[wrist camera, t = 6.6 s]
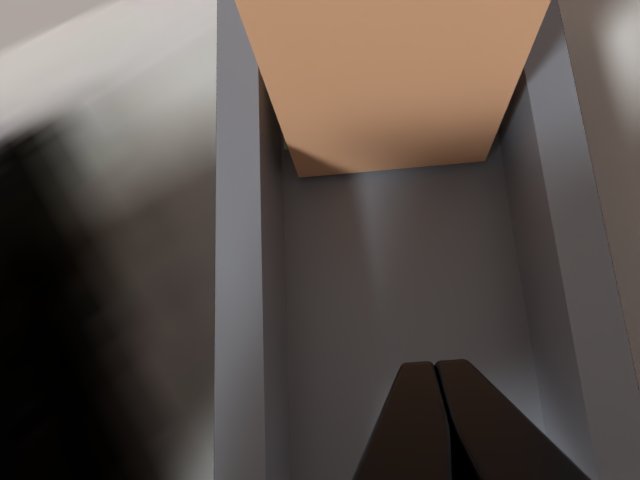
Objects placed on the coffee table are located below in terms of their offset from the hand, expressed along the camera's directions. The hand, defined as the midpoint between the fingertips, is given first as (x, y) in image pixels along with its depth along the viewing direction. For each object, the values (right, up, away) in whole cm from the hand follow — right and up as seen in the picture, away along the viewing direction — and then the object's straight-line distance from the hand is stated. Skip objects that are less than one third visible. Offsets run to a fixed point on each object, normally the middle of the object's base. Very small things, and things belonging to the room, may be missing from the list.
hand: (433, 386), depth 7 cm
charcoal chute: (+1, 0, +8) cm, 8 cm away
